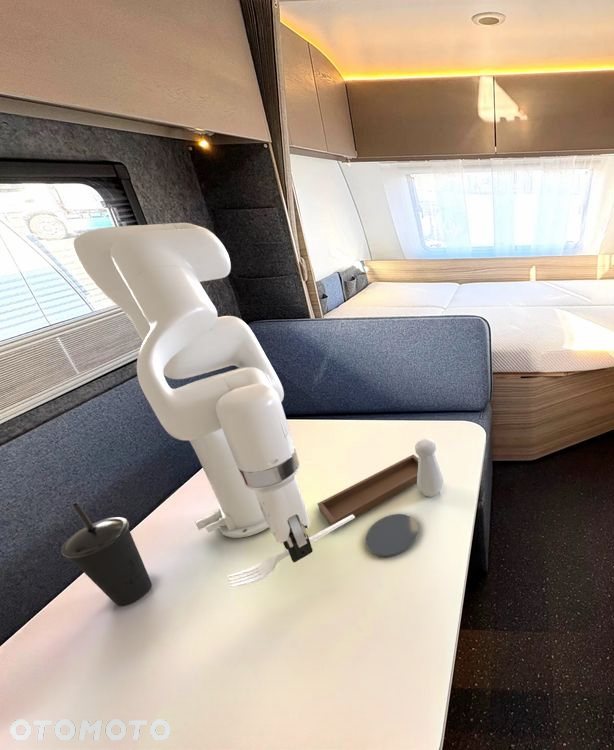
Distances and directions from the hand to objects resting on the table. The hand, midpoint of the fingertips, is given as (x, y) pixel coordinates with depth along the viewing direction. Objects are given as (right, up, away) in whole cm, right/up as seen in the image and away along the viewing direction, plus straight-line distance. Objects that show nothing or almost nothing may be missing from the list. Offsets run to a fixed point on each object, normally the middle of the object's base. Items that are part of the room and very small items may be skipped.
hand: (298, 549), depth 65 cm
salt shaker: (+19, +4, +21) cm, 28 cm away
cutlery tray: (+7, +3, +21) cm, 23 cm away
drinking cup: (-29, -8, +1) cm, 30 cm away
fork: (0, 0, 0) cm, 0 cm away
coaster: (+13, -2, +10) cm, 17 cm away
